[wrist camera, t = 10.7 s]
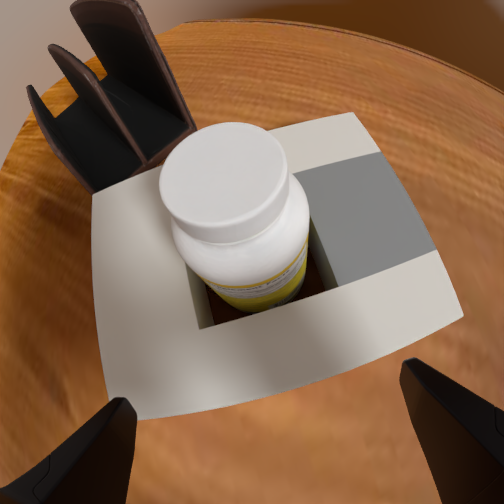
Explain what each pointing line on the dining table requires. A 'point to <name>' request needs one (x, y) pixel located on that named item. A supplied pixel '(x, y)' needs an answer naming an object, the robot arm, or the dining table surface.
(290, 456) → the dining table surface
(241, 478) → the dining table surface
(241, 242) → the supplement bottle
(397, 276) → the socket block
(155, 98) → the letter holder
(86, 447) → the robot arm
